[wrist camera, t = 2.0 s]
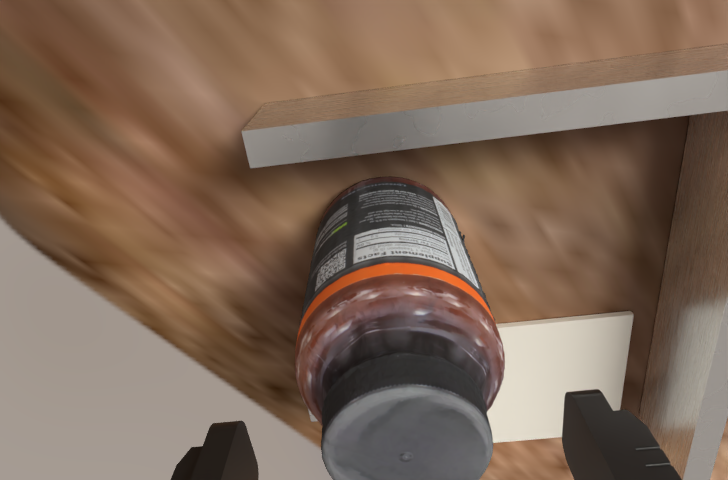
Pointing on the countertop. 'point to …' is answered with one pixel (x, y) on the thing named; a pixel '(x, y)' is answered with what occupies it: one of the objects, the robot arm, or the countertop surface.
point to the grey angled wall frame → (565, 112)
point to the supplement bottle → (397, 339)
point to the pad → (557, 370)
